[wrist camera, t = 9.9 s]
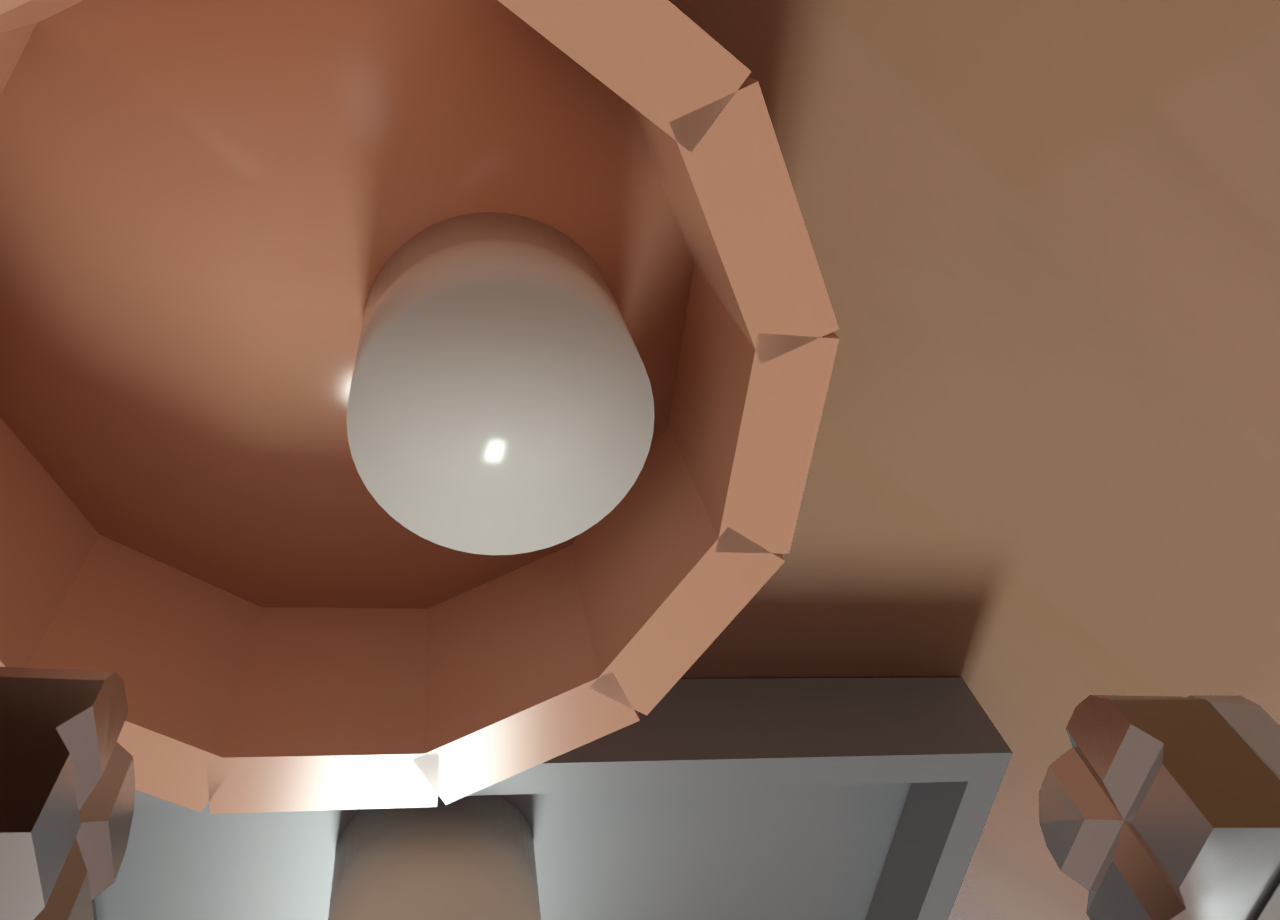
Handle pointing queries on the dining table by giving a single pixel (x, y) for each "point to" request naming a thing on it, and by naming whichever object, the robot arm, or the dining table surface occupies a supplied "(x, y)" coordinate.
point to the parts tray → (662, 815)
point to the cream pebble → (437, 863)
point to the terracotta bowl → (323, 368)
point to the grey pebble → (496, 388)
